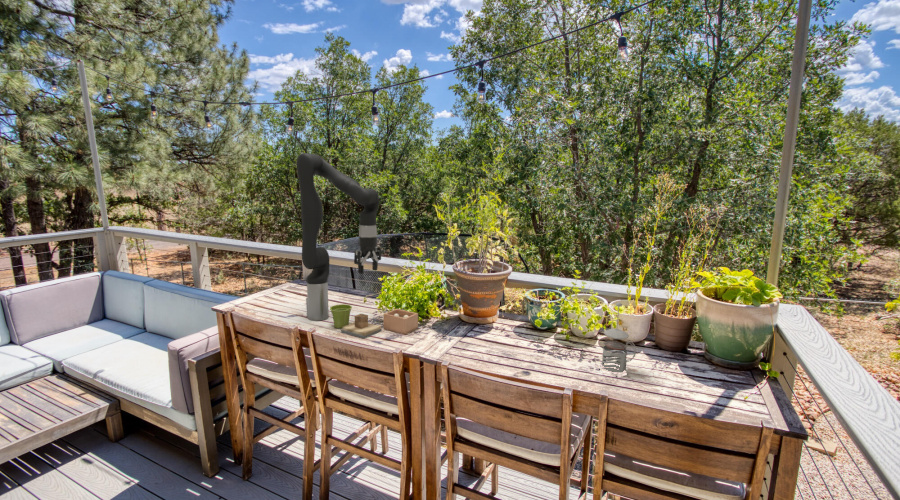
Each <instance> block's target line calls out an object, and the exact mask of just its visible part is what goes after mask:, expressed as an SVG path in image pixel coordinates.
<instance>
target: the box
mask: <svg viewBox="0 0 900 500" xmlns="http://www.w3.org/2000/svg"><path fill="white" fill-rule="evenodd" d="M382 316H383V330H385V331H388V332H389V331H390V332H393V333H397V334H401V335H403V336H405V335H408V334H410V333H412V332H414V331H416V330H418V328H419V313H418V312H413V311H408V310H403V309H399V308H395V309H392V310H389V311H387V312H385V313H383V315H382Z"/></svg>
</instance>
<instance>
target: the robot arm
mask: <svg viewBox="0 0 900 500" xmlns="http://www.w3.org/2000/svg"><path fill="white" fill-rule="evenodd" d="M296 172H297V179H298V185H299V196H300V213H301V214H300V215H301V227H302V228H301V229H302V230H301V231H302V234H301V235H302V241H301V243H302V244H301V260H302V264H303V266H304V267H305V269H307V270H311V272H310V273H309V274H308V275H307V276H306V295H307V297H306V298H305V302H306V305H305V306H306V318H308V320H310V321H313V322H314V321H316V322H318V321H323V320H327V319H328V318H329V313H330V312H329V310H330V307H329V288H328V287H329V284H328V283H329V282H328V278H329V275H330V254H329V252H328V250H327V249H326V248H325V247H322V246H317V237H318V234H319V231H320V229H321V227H322V224H323V220H324V212H323V211H324V209H323V203H322V200H321V197H320V196H319V194H318V192H317V189H316V187H315V182H314V181H315V179H314V176H316V175H317V176H320V177H322V178H324V179H325V180H328V181H329V182H330V183H331V184H332V186H333V187H335V189H337V190H338V191H341V192H342V193H344V194H346V195H347V196H349V197H350V198H351V199H352V200H353V201H355V202H356V203H357V204H359V205H361V206H363V207H364V208H363V210H362V211H360V212H359V228H358V244H359V247H360V249H357V250H356V249H355V250H354V254H353V255H354V256H353V257H354V258H353V259H354V261H353V264H354V265H357V270H358V271H357V272H358V274H360V275H363V274H364V267H365V266H364V264H365V262H367V260H369V259H371V260H372V271H376V272H377V271H378V262H379V261H381V260H382V250H381V249H382V248H381V246H377V245H378V238H377V235H378V234H377V233H378V229H377V213H378V210H379V204H380V195H379V193H378V191H377V190H376V189H374V188H365V187H362V186H361V184H360V182H359V181H357V180H355V179H354V178H352V177H350V176H349V175H347V174H345V173H344V172H341V171H340V170H338V169H337V168H335V167H334V166H333V165H332V164H330V163H329V162H328V161H327V160H325V159H324V158H323V157H321V156H320V155H319V154H316V153H305V152H302V153H300V154H299V155H298V157H297V159H296Z"/></svg>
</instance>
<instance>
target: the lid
mask: <svg viewBox="0 0 900 500" xmlns="http://www.w3.org/2000/svg"><path fill="white" fill-rule="evenodd" d="M381 327H382V326H381V325H378V324H377V325H376V324H373V323H369V315H368V314H364V313H358V314H356V315H354V322H352V323H349V324H348V325H346V326H343V327H342V328H341V330H345V331H348V332H352V333H356V334H359V335H363V336H366V335H368V334H371V333H373V332H375V331H377V330H380V329H381V330H382V328H381Z"/></svg>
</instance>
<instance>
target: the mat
mask: <svg viewBox="0 0 900 500" xmlns="http://www.w3.org/2000/svg"><path fill="white" fill-rule="evenodd" d="M380 332H382V328H381V329H380V330H377V331H375V332H373V333H371V334H368V335H366V336H363V335H359V334H356V333H352V332H348V331H345V330H342V329H341V330H340V333H342V334H345V335H349V336H353V337H355V338H360V339H367V338H369V337H371V336H373V335H376V334H379V333H380Z"/></svg>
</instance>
